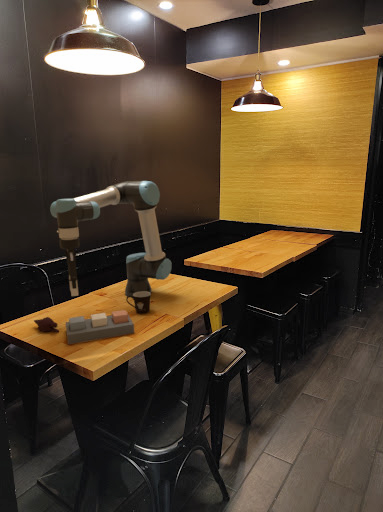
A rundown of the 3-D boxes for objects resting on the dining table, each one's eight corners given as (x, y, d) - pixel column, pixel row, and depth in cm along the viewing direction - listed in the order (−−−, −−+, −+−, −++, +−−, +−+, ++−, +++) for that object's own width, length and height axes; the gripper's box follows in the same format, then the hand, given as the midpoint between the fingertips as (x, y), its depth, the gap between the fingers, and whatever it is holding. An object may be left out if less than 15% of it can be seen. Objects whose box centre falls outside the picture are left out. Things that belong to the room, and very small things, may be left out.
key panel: (127, 322, 171) (127, 312, 170) (134, 335, 158) (133, 324, 157) (66, 332, 161) (65, 322, 160) (68, 346, 148) (67, 335, 147)
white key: (105, 321, 162) (104, 312, 161) (107, 326, 157) (106, 317, 156) (91, 323, 160) (90, 314, 159) (93, 328, 155) (92, 319, 154)
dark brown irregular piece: (25, 319, 161) (49, 328, 154) (38, 309, 167) (62, 318, 160) (29, 331, 164) (53, 340, 158) (42, 321, 170) (66, 330, 163)
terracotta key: (125, 318, 166) (125, 309, 165) (128, 323, 160) (127, 314, 159) (112, 320, 163) (111, 311, 163) (114, 325, 158) (114, 316, 157)
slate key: (84, 324, 159) (83, 315, 158) (85, 330, 154) (84, 321, 153) (69, 326, 157) (68, 318, 156) (70, 332, 152) (69, 323, 151)
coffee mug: (155, 312, 183) (154, 293, 181) (143, 318, 176) (142, 298, 174) (137, 307, 189) (136, 289, 187) (125, 313, 182) (124, 294, 180)
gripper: (58, 234, 154) (63, 287, 160) (60, 243, 136) (66, 301, 142) (77, 233, 157) (81, 285, 162) (81, 241, 139) (86, 299, 144)
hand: (74, 292), depth 152 cm, fingers open, 7 cm apart
